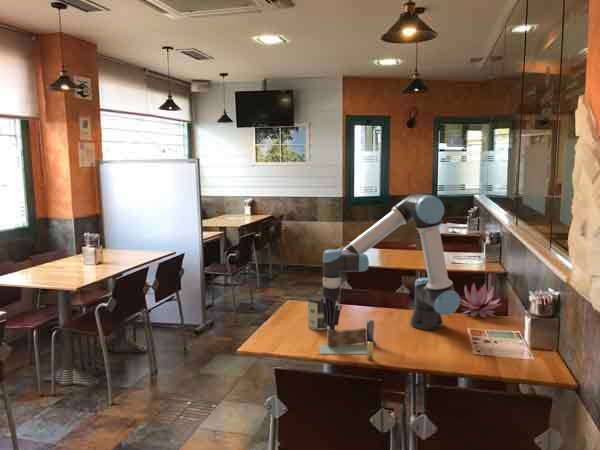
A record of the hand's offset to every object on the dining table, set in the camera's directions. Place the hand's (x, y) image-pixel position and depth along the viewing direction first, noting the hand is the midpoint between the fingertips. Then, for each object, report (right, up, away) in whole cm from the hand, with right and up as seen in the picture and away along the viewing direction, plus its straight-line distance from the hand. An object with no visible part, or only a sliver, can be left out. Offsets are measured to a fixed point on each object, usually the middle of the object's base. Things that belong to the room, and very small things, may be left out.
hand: (330, 339), depth 204 cm
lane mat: (+5, -3, -6) cm, 8 cm away
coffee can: (-4, 0, +23) cm, 24 cm away
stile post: (+15, -4, -16) cm, 22 cm away
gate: (+7, -1, -2) cm, 7 cm away
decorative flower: (+78, +3, +39) cm, 87 cm away
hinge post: (+17, -2, +1) cm, 17 cm away
